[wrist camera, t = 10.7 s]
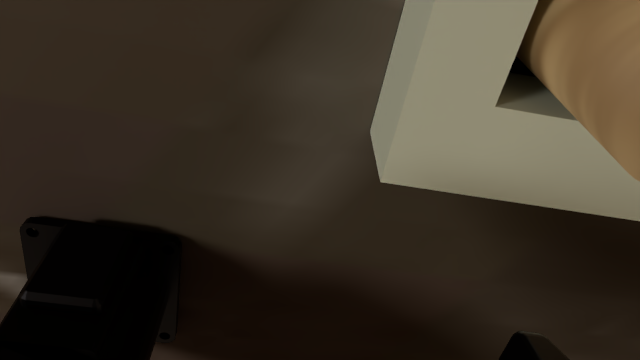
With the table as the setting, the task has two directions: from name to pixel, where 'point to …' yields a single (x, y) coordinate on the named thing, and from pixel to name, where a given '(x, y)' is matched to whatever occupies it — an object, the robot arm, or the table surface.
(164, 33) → the table surface
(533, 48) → the peg
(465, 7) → the socket block
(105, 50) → the table surface
